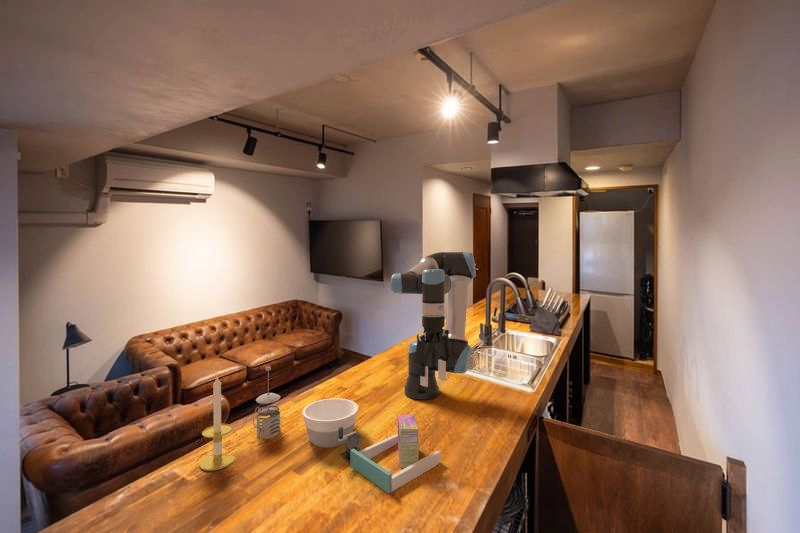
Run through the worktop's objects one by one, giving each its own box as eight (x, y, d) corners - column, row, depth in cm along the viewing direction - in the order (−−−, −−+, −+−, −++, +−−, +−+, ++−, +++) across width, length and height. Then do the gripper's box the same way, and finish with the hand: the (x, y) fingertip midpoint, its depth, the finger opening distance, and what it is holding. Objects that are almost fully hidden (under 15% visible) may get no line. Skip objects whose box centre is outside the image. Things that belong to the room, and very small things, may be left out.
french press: (288, 432, 130) (288, 364, 129) (267, 448, 119) (266, 373, 118) (266, 428, 133) (266, 361, 132) (243, 443, 122) (242, 370, 121)
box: (397, 450, 118) (397, 414, 118) (414, 449, 118) (414, 414, 118) (399, 468, 107) (399, 429, 107) (418, 467, 108) (418, 428, 108)
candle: (231, 468, 107) (230, 379, 107) (194, 472, 105) (193, 381, 105) (238, 451, 117) (238, 369, 117) (205, 454, 115) (204, 371, 114)
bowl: (309, 460, 112) (309, 425, 112) (297, 433, 129) (297, 403, 129) (366, 445, 121) (366, 413, 121) (348, 422, 138) (347, 394, 138)
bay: (350, 466, 108) (350, 450, 108) (401, 442, 123) (401, 427, 123) (388, 493, 96) (388, 475, 96) (440, 463, 110) (440, 447, 110)
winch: (333, 459, 112) (333, 425, 112) (355, 449, 118) (355, 417, 118) (344, 467, 108) (344, 432, 108) (366, 457, 114) (366, 423, 113)
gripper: (419, 320, 110) (419, 393, 111) (461, 313, 125) (461, 378, 125) (402, 317, 116) (402, 387, 116) (444, 310, 130) (444, 373, 131)
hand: (433, 382), depth 121 cm, fingers open, 8 cm apart
